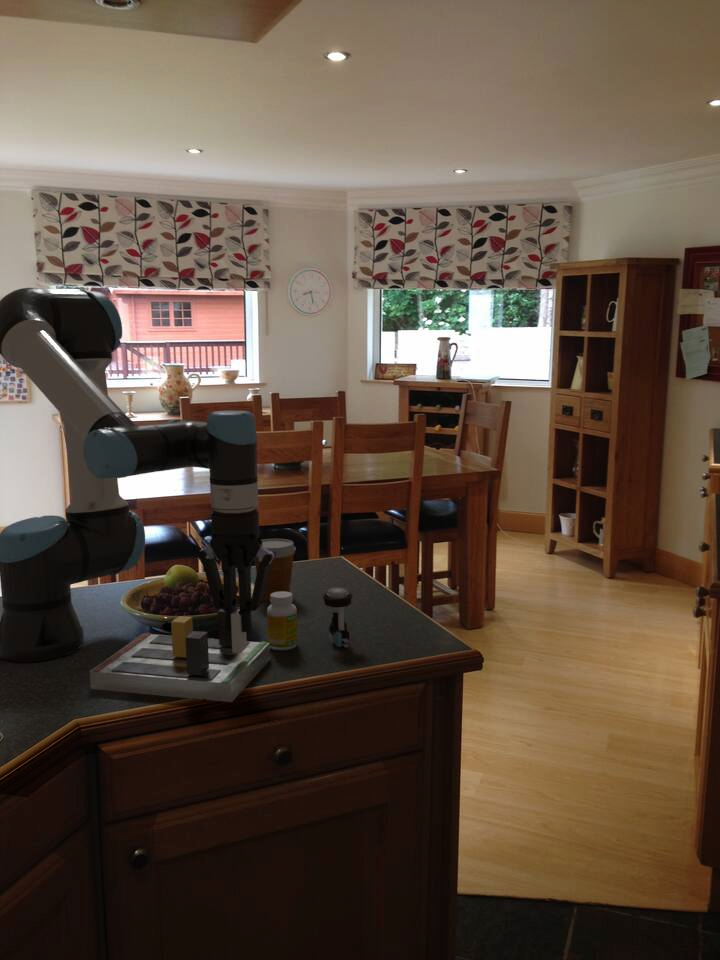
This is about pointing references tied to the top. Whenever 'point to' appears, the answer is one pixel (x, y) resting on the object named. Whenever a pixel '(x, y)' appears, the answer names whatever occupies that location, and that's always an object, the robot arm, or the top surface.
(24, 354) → the robot arm
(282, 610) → the supplement bottle
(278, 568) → the disposable coffee cup
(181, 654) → the block
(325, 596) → the push button
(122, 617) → the top surface
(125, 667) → the panel
